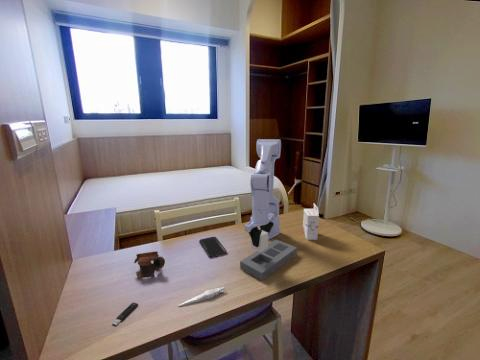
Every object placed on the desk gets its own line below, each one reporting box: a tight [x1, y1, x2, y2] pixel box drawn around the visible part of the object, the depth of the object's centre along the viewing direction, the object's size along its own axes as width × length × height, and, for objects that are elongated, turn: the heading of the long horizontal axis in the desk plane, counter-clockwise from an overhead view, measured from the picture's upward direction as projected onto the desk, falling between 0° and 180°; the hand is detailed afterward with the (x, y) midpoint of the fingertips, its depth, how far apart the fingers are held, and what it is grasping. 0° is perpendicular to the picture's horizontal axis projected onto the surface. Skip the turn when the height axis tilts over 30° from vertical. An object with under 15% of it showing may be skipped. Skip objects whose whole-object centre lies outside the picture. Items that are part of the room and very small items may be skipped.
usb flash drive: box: [111, 302, 139, 327], centre depth 68 cm, size 8×2×1 cm, turn 161°
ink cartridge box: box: [302, 202, 320, 241], centre depth 110 cm, size 9×5×15 cm, turn 179°
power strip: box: [239, 239, 298, 281], centre depth 92 cm, size 22×10×3 cm, turn 136°
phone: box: [198, 236, 228, 259], centre depth 102 cm, size 8×1×15 cm
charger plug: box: [250, 228, 269, 253], centre depth 87 cm, size 4×4×6 cm
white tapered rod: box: [177, 286, 226, 308], centre depth 73 cm, size 15×3×2 cm, turn 116°
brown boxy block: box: [133, 250, 166, 279], centre depth 87 cm, size 12×9×8 cm
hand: (260, 243), depth 87 cm, fingers closed on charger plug, 4 cm apart
